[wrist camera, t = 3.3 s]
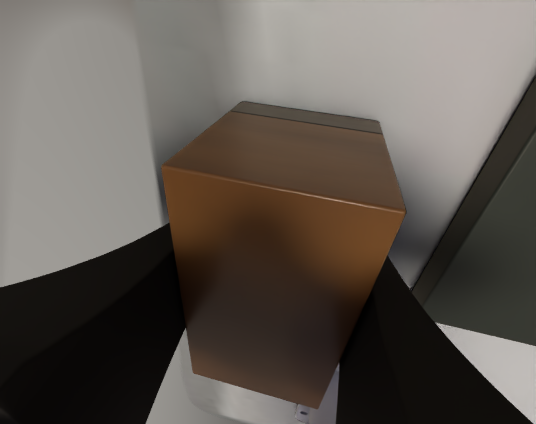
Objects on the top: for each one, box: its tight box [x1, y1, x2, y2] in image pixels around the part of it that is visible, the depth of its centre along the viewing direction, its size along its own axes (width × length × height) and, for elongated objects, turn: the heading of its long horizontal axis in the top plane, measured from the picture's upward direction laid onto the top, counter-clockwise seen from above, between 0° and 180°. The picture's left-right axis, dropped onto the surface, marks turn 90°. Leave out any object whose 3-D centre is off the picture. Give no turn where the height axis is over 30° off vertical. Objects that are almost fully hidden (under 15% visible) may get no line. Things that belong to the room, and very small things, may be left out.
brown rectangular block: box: [161, 102, 406, 409], centre depth 9 cm, size 8×4×5 cm, turn 175°
